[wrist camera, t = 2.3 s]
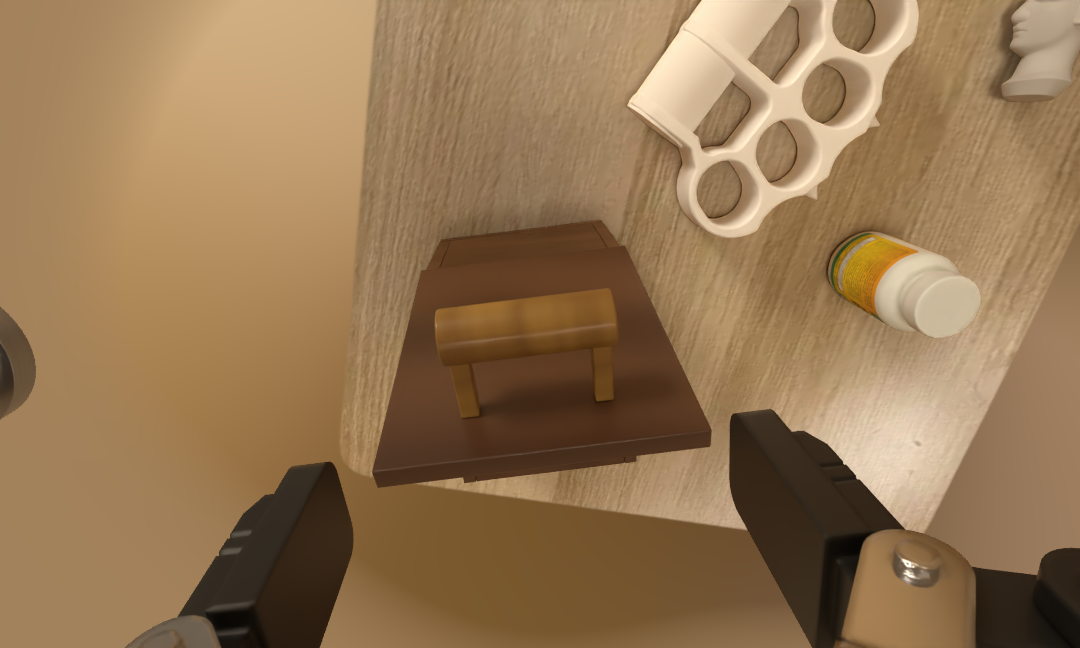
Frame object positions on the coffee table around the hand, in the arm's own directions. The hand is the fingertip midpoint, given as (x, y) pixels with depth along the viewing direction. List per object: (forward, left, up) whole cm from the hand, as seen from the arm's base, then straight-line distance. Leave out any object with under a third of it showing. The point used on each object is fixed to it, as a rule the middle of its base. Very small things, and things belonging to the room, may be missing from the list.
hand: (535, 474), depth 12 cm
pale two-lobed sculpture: (+13, +33, -32) cm, 48 cm away
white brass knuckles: (+5, +17, -32) cm, 36 cm away
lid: (+3, -2, -15) cm, 15 cm away
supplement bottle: (+20, +17, -32) cm, 41 cm away
